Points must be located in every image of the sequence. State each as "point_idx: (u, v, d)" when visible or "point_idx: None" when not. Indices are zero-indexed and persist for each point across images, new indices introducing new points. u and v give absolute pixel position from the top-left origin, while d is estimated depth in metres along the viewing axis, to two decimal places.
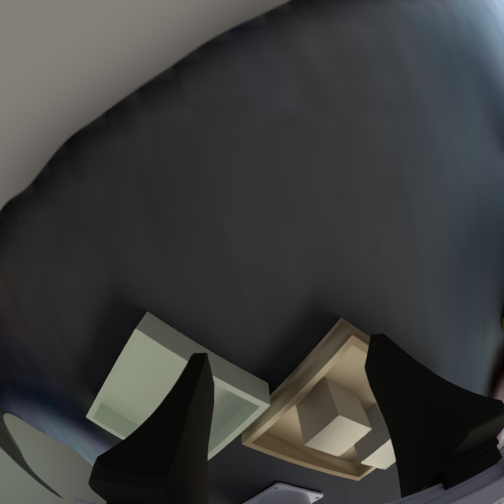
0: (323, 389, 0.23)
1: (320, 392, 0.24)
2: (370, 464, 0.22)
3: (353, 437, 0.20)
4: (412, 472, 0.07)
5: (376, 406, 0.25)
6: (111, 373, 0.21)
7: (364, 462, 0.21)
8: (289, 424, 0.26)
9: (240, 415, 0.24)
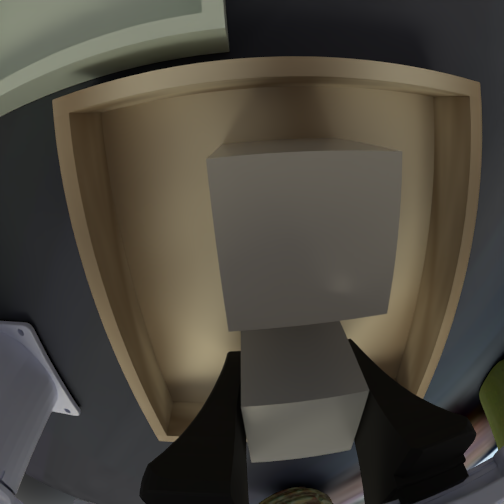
0: (327, 139, 0.09)
1: (317, 139, 0.09)
2: (250, 429, 0.09)
3: (334, 295, 0.07)
4: (373, 484, 0.07)
5: None
6: None
7: (249, 413, 0.09)
8: (161, 182, 0.11)
9: None
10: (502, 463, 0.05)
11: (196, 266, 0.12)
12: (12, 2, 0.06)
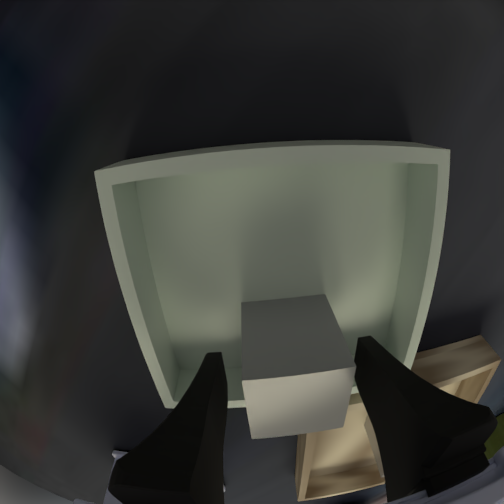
0: None
1: None
2: (250, 403, 0.10)
3: None
4: (397, 477, 0.07)
5: (326, 299, 0.14)
6: (319, 149, 0.09)
7: (248, 387, 0.10)
8: None
9: None
10: (502, 463, 0.05)
11: (343, 432, 0.20)
12: (211, 288, 0.14)
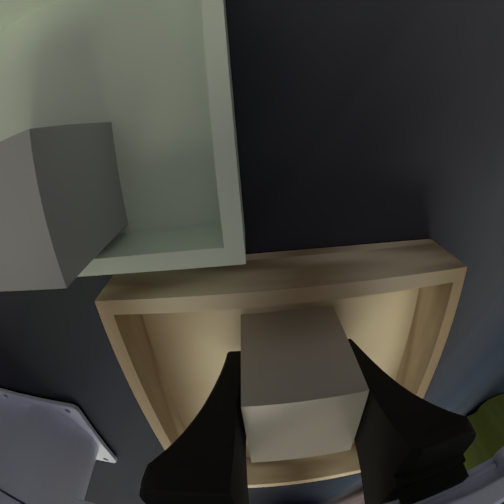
0: (325, 322, 0.12)
1: (317, 323, 0.12)
2: None
3: (316, 447, 0.10)
4: (373, 484, 0.07)
5: (103, 123, 0.09)
6: None
7: None
8: (191, 337, 0.13)
9: (147, 240, 0.10)
10: (502, 463, 0.05)
11: None
12: (10, 134, 0.09)
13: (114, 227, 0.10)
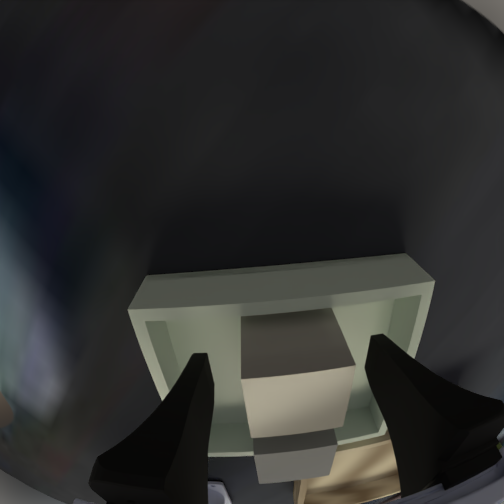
0: None
1: None
2: (259, 465, 0.13)
3: (310, 423, 0.11)
4: (412, 472, 0.07)
5: None
6: (319, 299, 0.12)
7: (258, 457, 0.12)
8: None
9: None
10: (502, 463, 0.05)
11: (334, 462, 0.22)
12: (226, 373, 0.16)
13: None
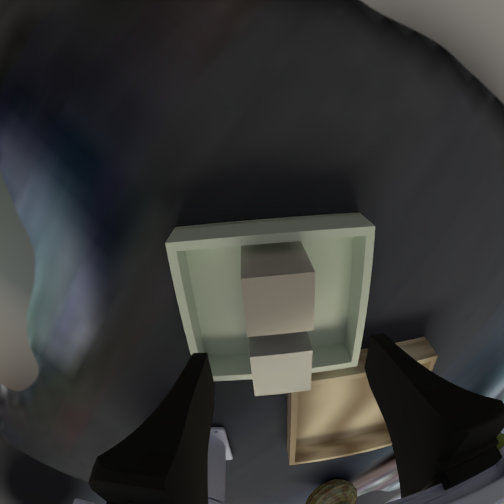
0: (293, 245, 0.20)
1: (288, 246, 0.20)
2: (254, 371, 0.19)
3: (289, 323, 0.18)
4: (412, 472, 0.07)
5: None
6: (292, 234, 0.18)
7: (253, 360, 0.19)
8: (315, 386, 0.27)
9: (315, 356, 0.24)
10: (502, 463, 0.05)
11: (321, 406, 0.28)
12: (230, 304, 0.23)
13: None
